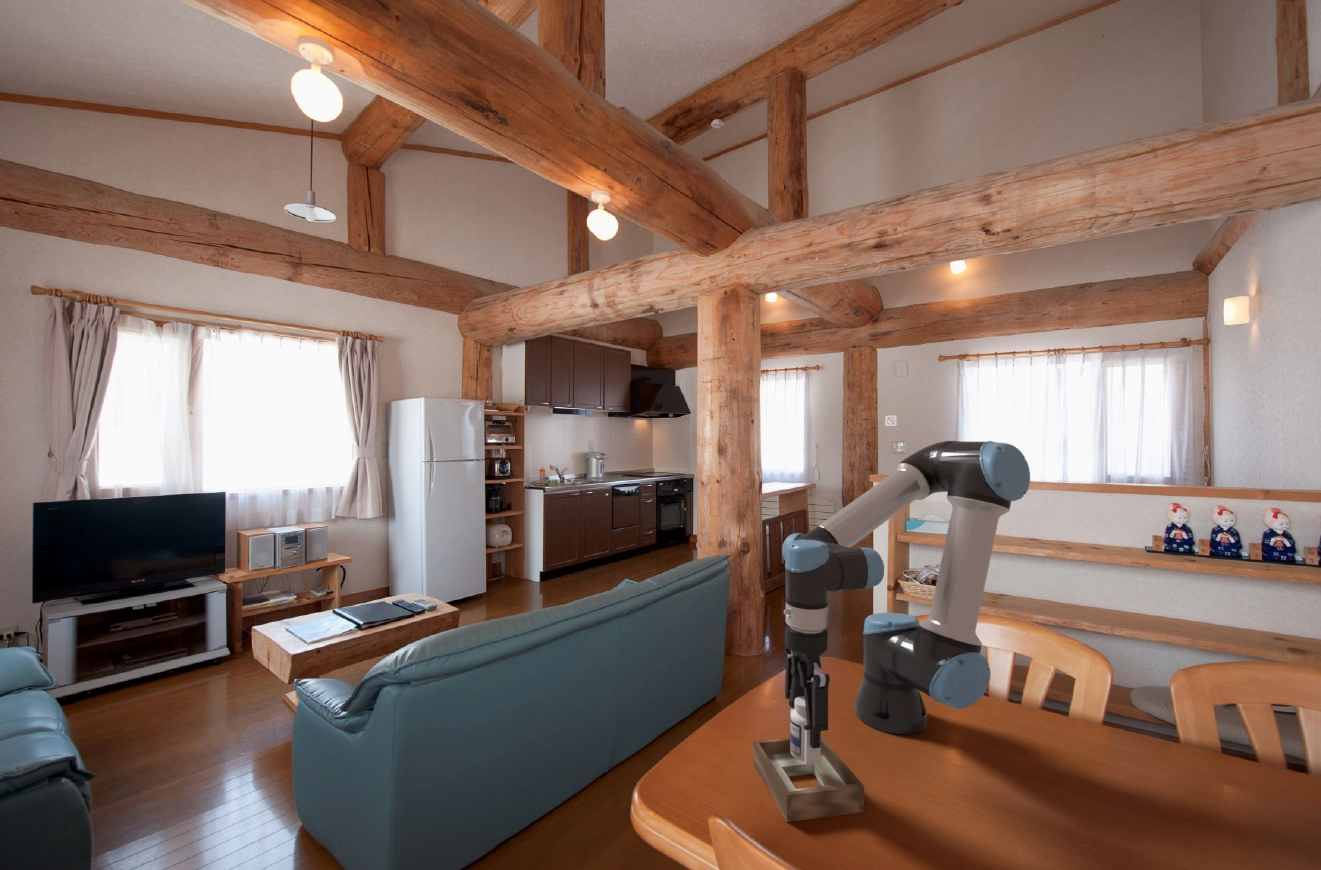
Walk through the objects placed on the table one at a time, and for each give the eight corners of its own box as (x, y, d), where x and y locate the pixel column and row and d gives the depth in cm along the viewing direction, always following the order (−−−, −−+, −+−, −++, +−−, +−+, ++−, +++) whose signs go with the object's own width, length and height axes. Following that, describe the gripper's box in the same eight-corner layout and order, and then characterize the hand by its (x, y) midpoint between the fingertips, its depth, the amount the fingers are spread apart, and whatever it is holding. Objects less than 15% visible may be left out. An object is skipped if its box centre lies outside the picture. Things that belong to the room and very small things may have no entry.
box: (820, 756, 109) (820, 734, 109) (863, 812, 93) (863, 786, 93) (753, 764, 107) (753, 741, 107) (786, 822, 91) (786, 795, 91)
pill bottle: (821, 748, 102) (821, 696, 101) (819, 765, 97) (820, 711, 96) (791, 743, 103) (792, 692, 103) (788, 759, 98) (789, 705, 98)
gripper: (768, 611, 108) (766, 727, 108) (809, 647, 90) (808, 787, 90) (803, 609, 109) (802, 724, 110) (851, 644, 91) (849, 782, 92)
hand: (804, 752), depth 100 cm, fingers closed on pill bottle, 5 cm apart
